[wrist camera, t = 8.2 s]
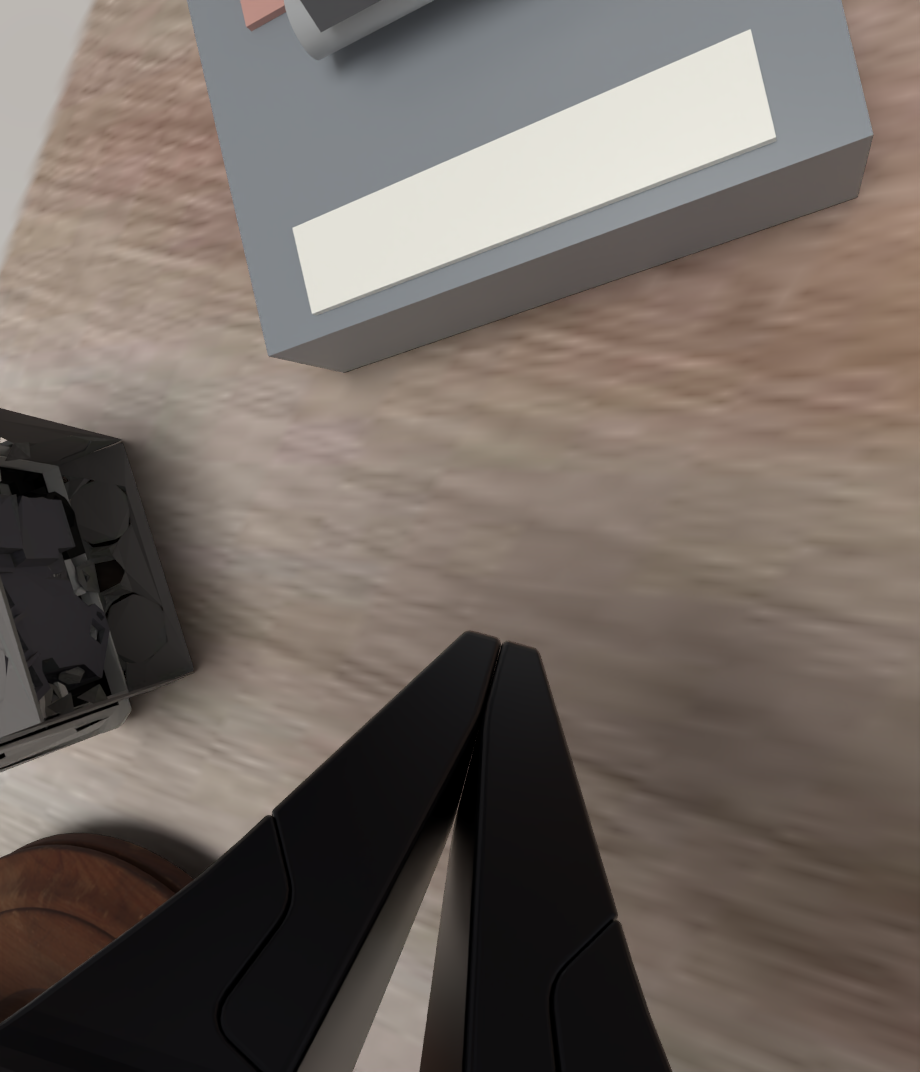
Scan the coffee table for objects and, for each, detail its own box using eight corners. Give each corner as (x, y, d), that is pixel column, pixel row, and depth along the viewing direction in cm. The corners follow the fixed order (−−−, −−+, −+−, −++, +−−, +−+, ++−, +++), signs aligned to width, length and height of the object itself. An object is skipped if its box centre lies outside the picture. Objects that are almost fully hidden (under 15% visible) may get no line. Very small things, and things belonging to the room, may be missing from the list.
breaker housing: (857, 196, 17) (874, 130, 14) (343, 372, 22) (263, 355, 19) (761, -209, 17) (754, -375, 14) (270, 55, 22) (177, -19, 19)
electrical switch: (34, 455, 27) (-294, 435, 18) (159, 398, 26) (-131, 346, 17) (118, 725, 27) (-175, 841, 18) (250, 683, 25) (2, 786, 16)
